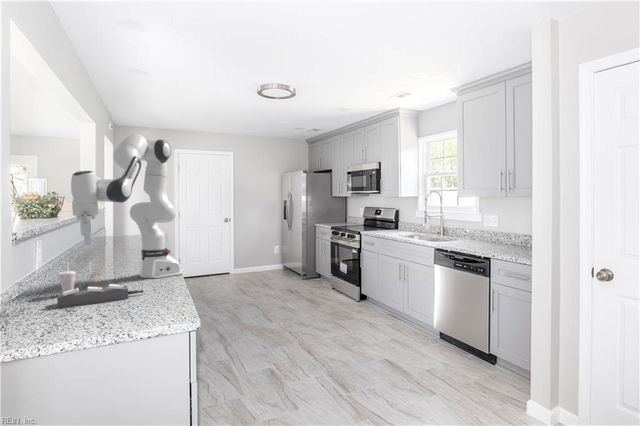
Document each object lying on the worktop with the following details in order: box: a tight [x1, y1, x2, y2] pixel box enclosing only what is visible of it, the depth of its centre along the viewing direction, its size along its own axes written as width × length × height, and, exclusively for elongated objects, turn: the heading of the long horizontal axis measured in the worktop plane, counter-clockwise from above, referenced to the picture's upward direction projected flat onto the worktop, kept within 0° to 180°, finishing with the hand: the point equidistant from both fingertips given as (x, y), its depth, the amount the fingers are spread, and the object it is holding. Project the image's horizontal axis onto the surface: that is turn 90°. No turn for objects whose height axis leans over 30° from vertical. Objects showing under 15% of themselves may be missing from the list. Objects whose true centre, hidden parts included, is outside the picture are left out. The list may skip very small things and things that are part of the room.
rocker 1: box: [63, 287, 80, 296], centre depth 144 cm, size 5×3×1 cm, turn 121°
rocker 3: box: [108, 283, 124, 289], centre depth 152 cm, size 5×3×1 cm, turn 122°
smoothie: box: [57, 262, 77, 293], centre depth 159 cm, size 6×6×14 cm
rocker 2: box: [86, 286, 103, 292], centre depth 148 cm, size 5×3×1 cm, turn 122°
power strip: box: [56, 285, 144, 309], centre depth 151 cm, size 30×7×4 cm, turn 121°
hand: (87, 244), depth 151 cm, fingers closed
